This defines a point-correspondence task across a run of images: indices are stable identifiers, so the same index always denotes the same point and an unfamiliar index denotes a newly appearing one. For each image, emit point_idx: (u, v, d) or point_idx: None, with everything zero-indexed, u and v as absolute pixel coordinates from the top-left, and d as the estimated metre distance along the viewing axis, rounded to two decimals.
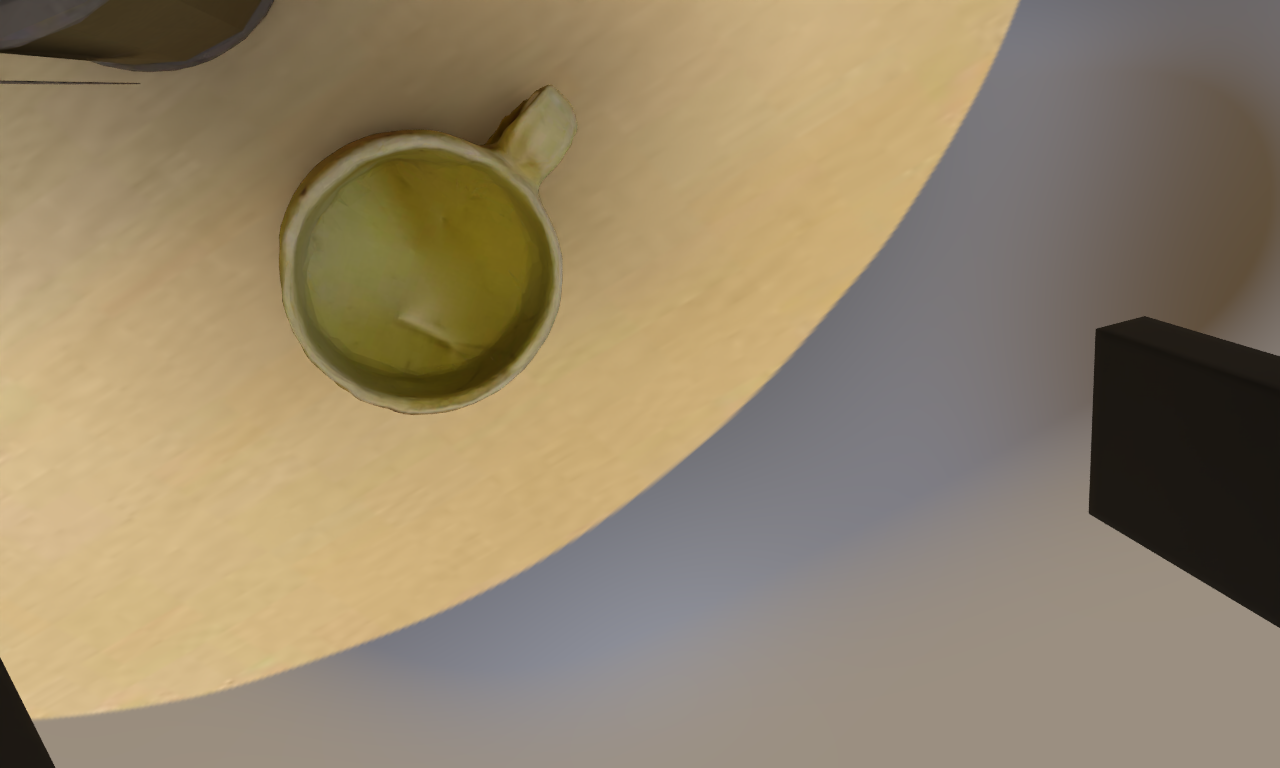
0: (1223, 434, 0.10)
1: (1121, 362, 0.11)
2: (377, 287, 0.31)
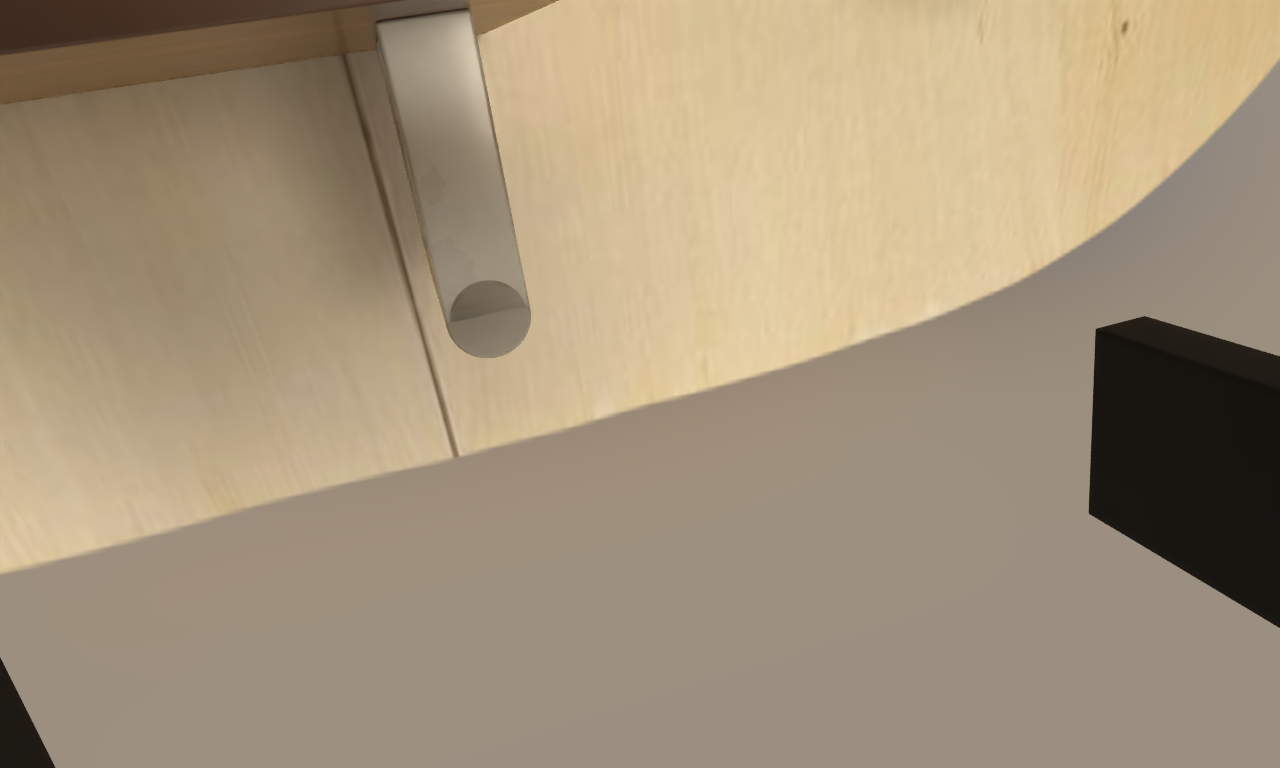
0: (1223, 434, 0.10)
1: (1121, 362, 0.11)
2: None
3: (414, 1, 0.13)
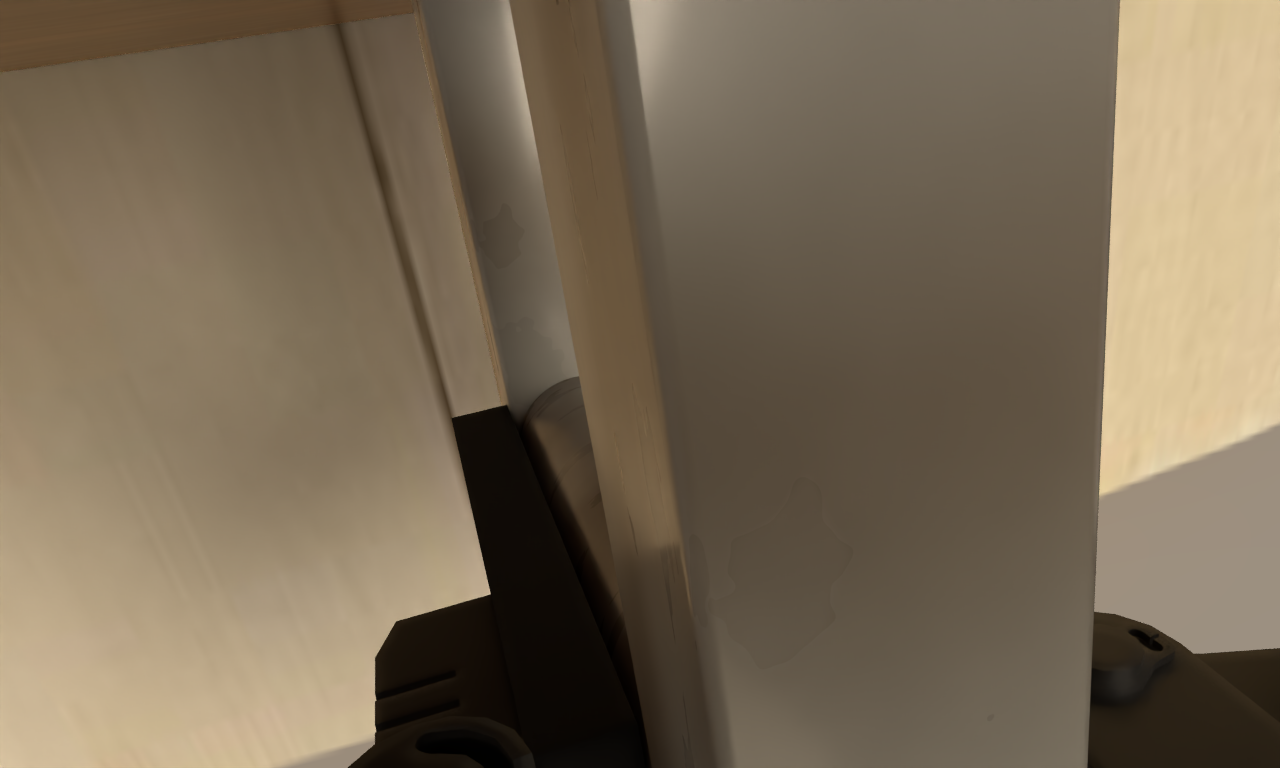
0: None
1: None
2: None
3: None
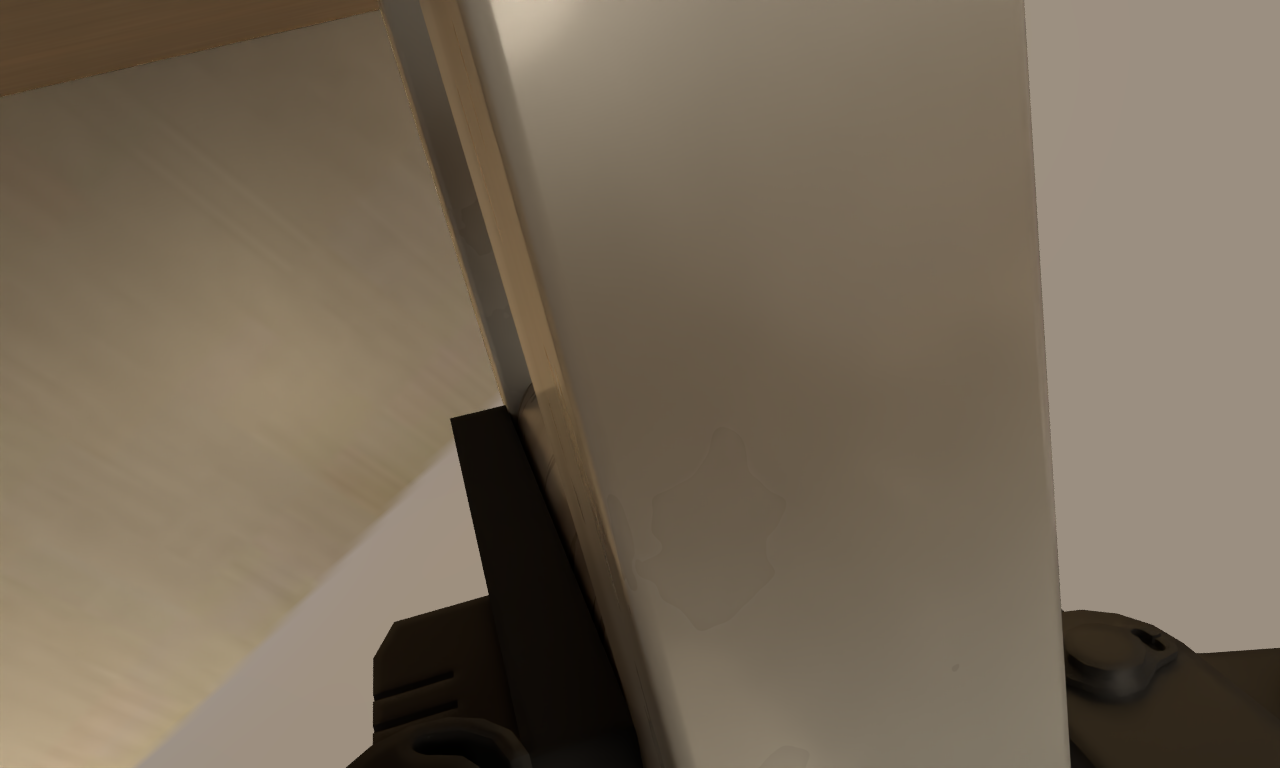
0: None
1: None
2: None
3: None
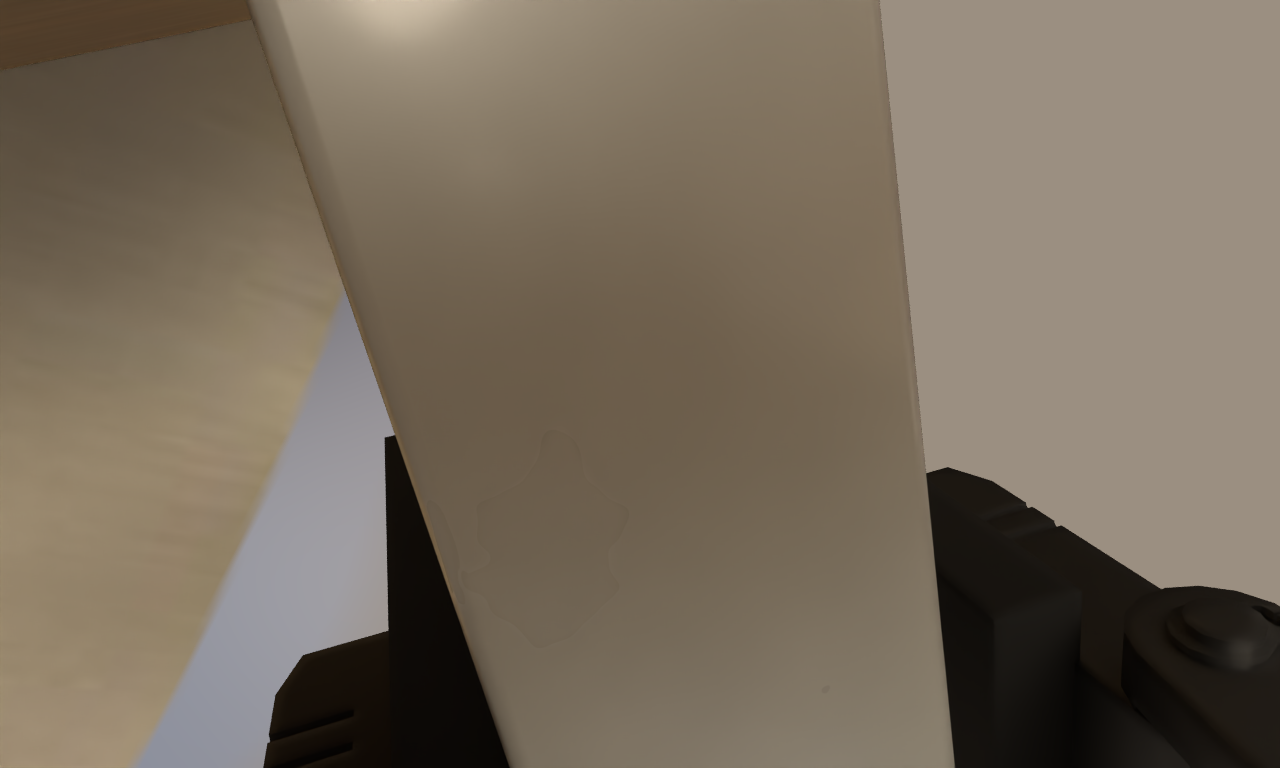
0: None
1: None
2: None
3: None
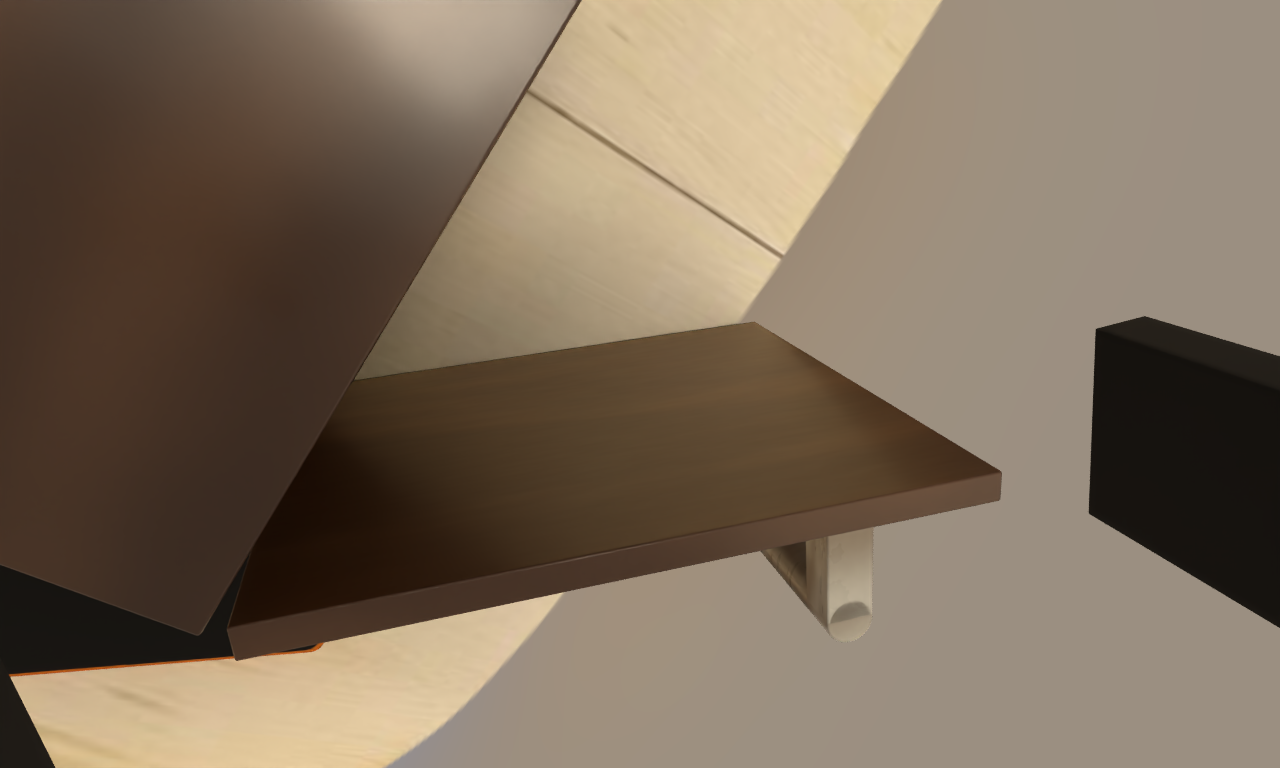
0: (1224, 434, 0.10)
1: (1121, 362, 0.11)
2: None
3: None
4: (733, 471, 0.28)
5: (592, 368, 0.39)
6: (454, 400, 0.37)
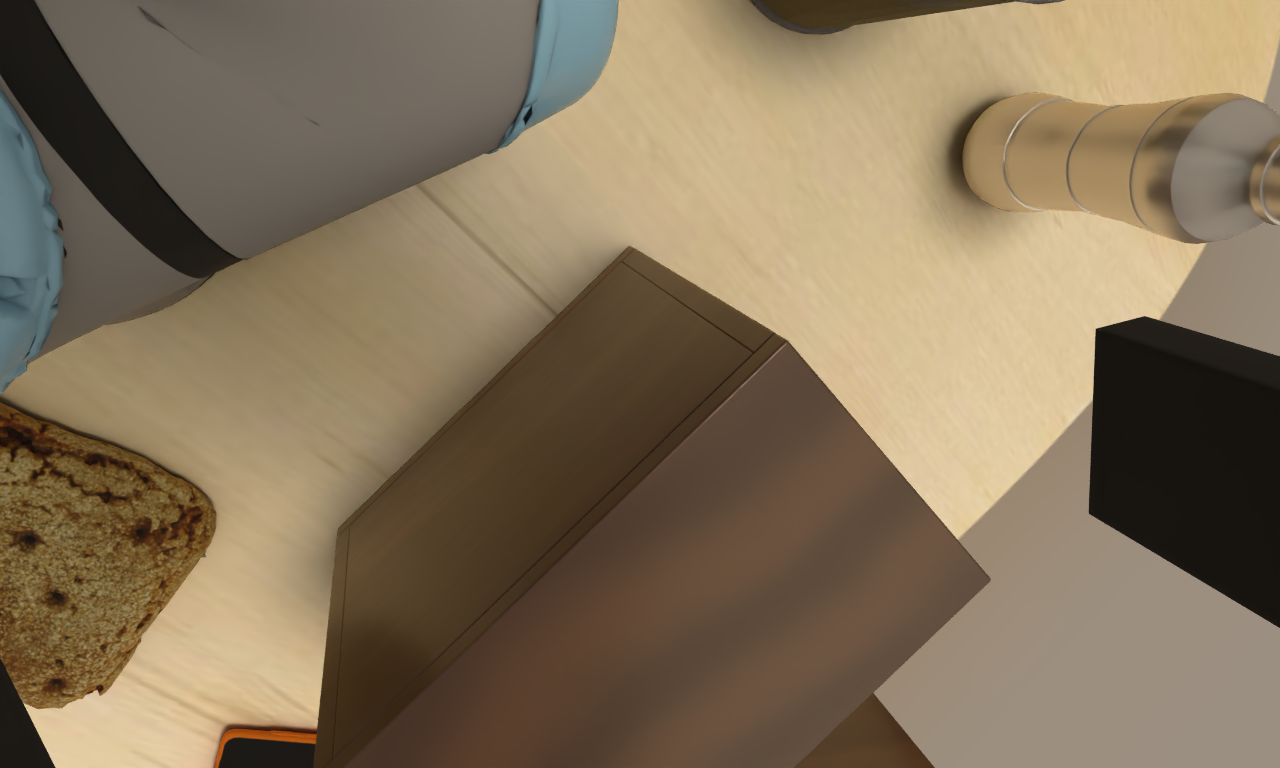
0: (1223, 435, 0.10)
1: (1121, 362, 0.11)
2: None
3: None
4: None
5: None
6: None
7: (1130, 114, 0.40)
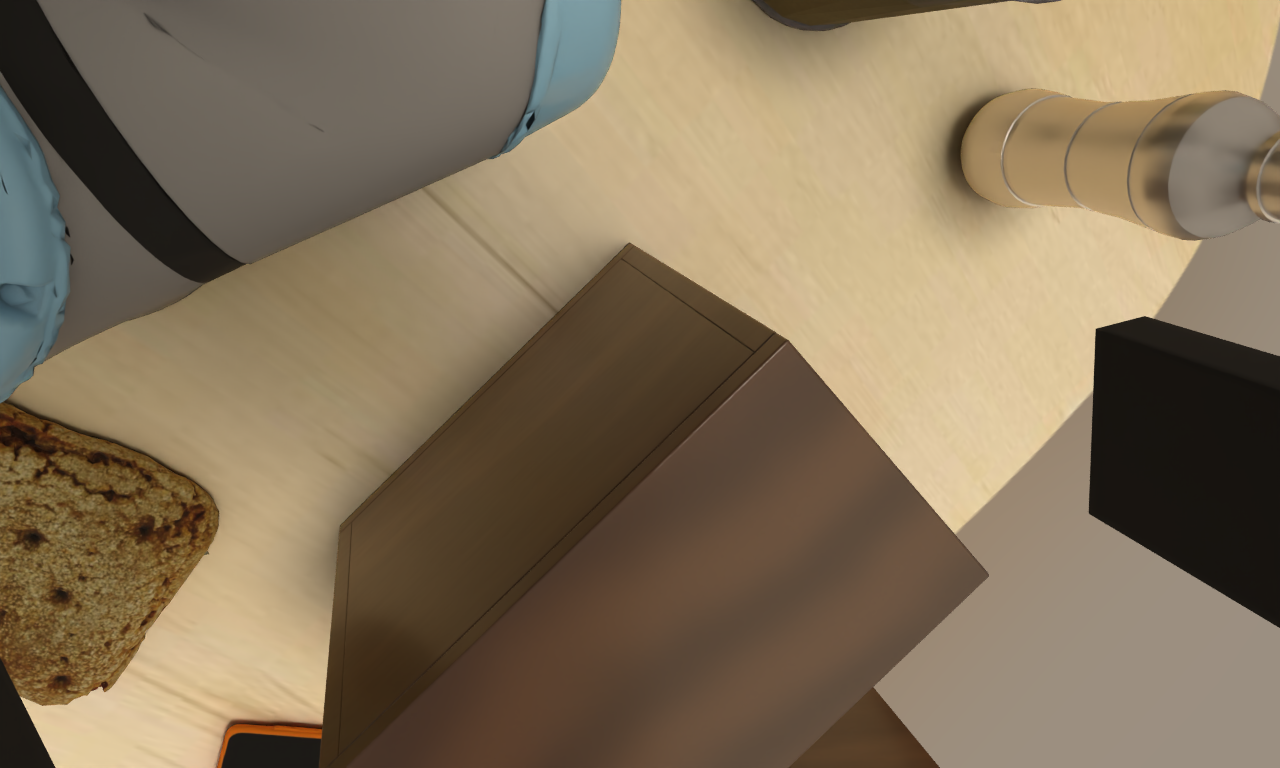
0: (1224, 434, 0.10)
1: (1121, 362, 0.11)
2: None
3: None
4: None
5: None
6: None
7: (1128, 111, 0.40)
